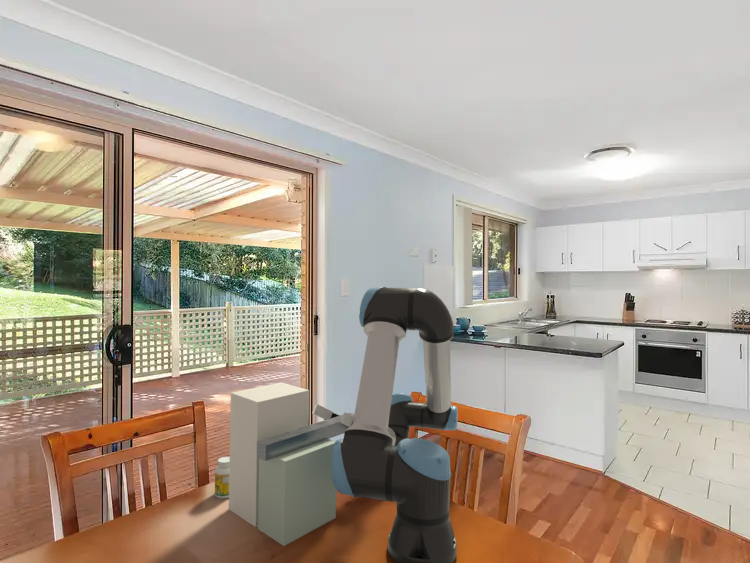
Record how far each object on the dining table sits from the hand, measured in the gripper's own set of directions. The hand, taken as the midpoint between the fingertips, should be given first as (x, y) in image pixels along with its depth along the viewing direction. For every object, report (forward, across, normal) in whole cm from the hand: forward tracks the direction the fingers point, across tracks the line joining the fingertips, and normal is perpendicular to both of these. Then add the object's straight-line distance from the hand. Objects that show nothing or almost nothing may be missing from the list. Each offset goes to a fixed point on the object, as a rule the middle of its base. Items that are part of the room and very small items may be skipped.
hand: (328, 413), depth 116 cm
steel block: (+3, -1, -8) cm, 8 cm away
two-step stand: (-3, +6, -26) cm, 27 cm away
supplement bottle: (+1, +25, -29) cm, 38 cm away
